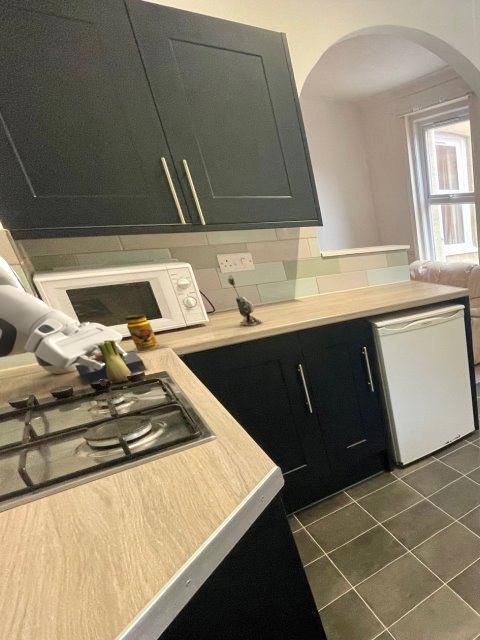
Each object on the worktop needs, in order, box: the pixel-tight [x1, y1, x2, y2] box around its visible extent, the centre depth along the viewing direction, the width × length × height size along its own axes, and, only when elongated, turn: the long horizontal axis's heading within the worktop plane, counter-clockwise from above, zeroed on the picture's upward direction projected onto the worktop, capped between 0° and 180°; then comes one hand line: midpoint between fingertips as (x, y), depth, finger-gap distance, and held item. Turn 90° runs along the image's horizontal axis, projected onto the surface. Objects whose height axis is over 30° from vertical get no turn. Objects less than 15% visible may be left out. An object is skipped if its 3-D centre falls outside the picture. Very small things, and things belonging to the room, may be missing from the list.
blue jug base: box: [75, 352, 147, 386], centre depth 126 cm, size 14×12×5 cm
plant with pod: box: [227, 274, 262, 327], centre depth 169 cm, size 8×11×20 cm
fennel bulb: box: [98, 340, 132, 384], centre depth 117 cm, size 6×5×12 cm
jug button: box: [94, 352, 104, 360], centre depth 125 cm, size 4×4×2 cm
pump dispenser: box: [33, 353, 80, 375], centre depth 127 cm, size 10×10×15 cm
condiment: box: [124, 313, 166, 353], centre depth 146 cm, size 7×8×12 cm
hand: (113, 361), depth 116 cm, fingers open, 7 cm apart
